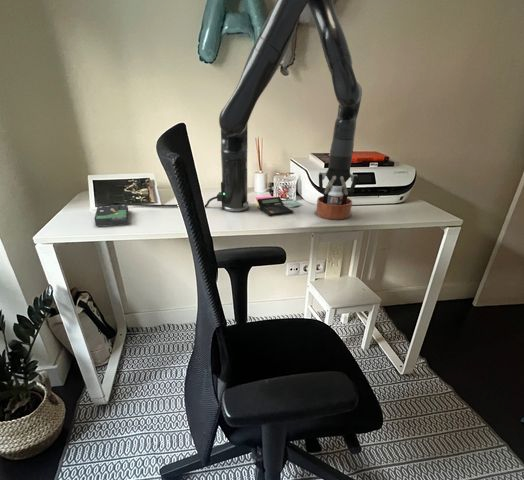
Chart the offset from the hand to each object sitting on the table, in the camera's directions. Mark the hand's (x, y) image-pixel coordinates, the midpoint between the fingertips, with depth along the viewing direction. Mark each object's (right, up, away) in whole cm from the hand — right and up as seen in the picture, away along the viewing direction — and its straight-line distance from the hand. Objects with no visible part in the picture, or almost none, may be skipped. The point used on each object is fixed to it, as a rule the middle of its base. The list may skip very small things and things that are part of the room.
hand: (334, 204), depth 135 cm
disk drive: (-78, -8, -7) cm, 79 cm away
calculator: (-22, -1, +5) cm, 22 cm away
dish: (0, -3, +2) cm, 4 cm away
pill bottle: (0, -3, +2) cm, 3 cm away
